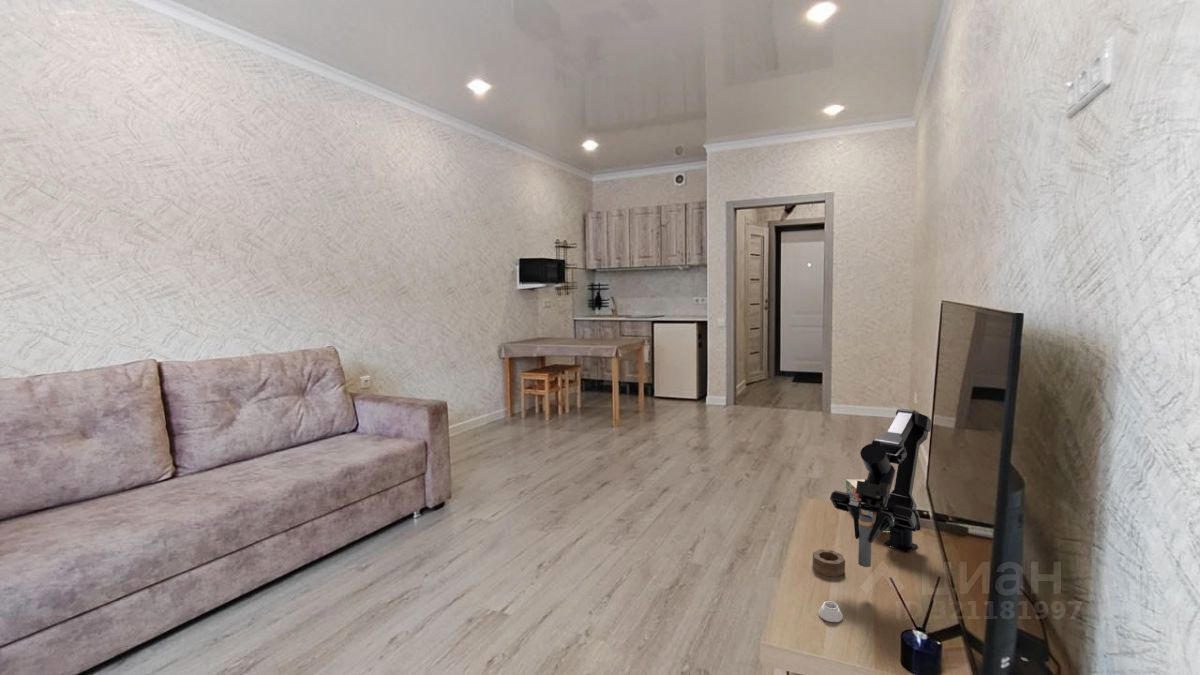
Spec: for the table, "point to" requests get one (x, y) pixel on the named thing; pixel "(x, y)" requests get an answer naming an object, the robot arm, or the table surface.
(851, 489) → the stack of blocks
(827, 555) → the bead
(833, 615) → the white jar
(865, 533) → the grey knob-topped cylinder
